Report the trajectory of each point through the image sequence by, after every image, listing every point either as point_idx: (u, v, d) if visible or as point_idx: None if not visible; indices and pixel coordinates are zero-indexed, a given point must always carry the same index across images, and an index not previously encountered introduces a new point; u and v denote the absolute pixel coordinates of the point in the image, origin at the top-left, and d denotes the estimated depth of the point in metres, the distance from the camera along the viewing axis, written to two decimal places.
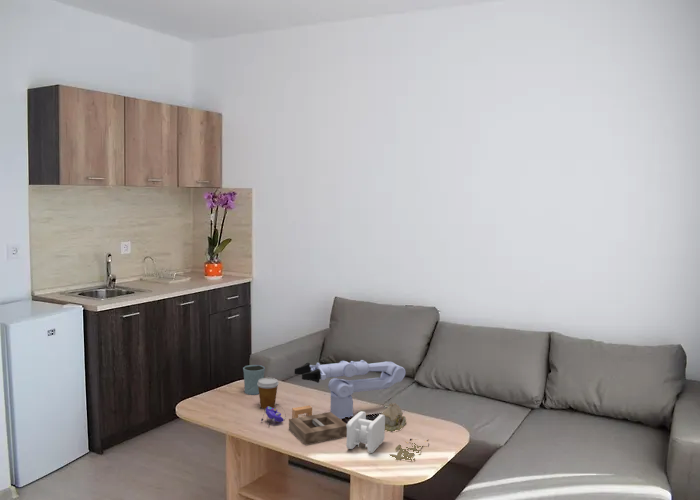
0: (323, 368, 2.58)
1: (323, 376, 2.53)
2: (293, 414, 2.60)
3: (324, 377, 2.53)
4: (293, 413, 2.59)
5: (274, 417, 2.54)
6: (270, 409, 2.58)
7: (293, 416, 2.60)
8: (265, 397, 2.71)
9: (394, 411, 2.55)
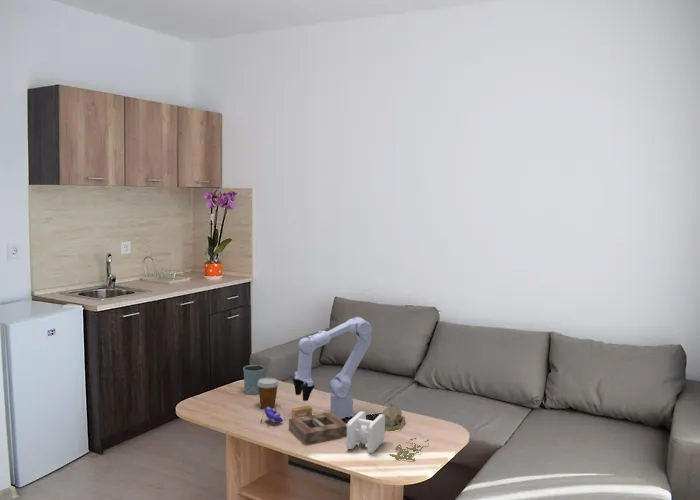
0: (301, 375, 2.57)
1: (309, 384, 2.53)
2: (293, 414, 2.60)
3: (311, 383, 2.53)
4: (293, 413, 2.59)
5: (273, 417, 2.53)
6: (269, 409, 2.57)
7: (293, 416, 2.60)
8: (265, 397, 2.71)
9: (393, 411, 2.55)
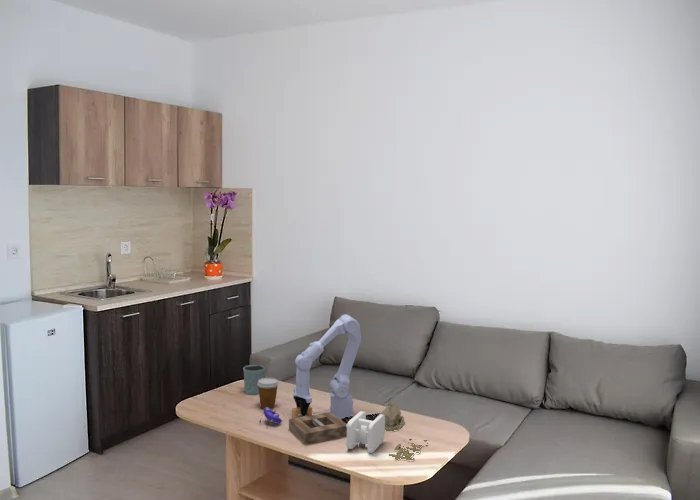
0: (300, 392, 2.58)
1: (308, 401, 2.54)
2: (293, 414, 2.60)
3: (309, 399, 2.54)
4: (293, 413, 2.59)
5: (272, 418, 2.53)
6: (268, 410, 2.56)
7: (293, 416, 2.60)
8: (265, 397, 2.71)
9: (393, 411, 2.55)
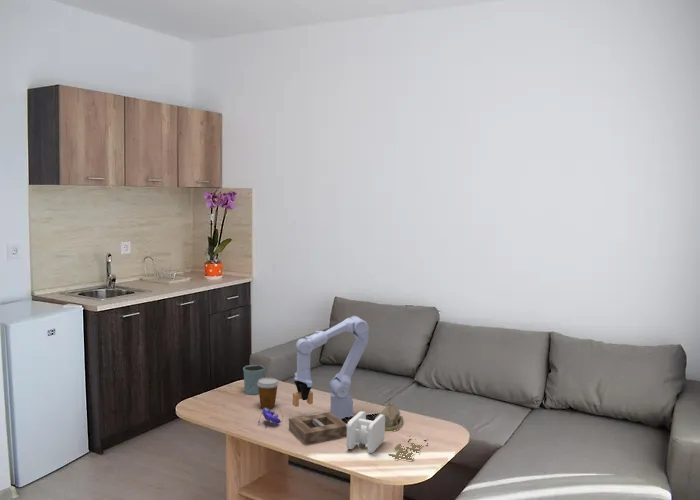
0: (301, 376, 2.56)
1: (309, 385, 2.53)
2: (294, 399, 2.58)
3: (310, 383, 2.53)
4: (294, 398, 2.58)
5: (271, 419, 2.52)
6: (267, 411, 2.56)
7: (294, 401, 2.58)
8: (265, 397, 2.71)
9: (392, 411, 2.55)
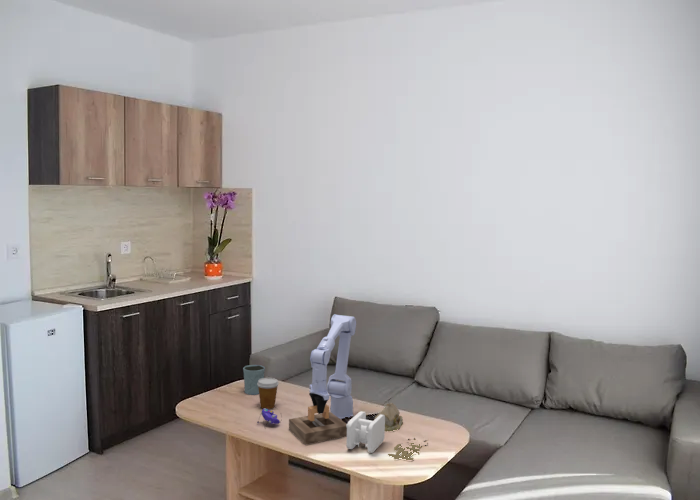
0: (316, 388, 2.43)
1: (326, 398, 2.39)
2: (309, 413, 2.45)
3: (327, 396, 2.40)
4: (309, 412, 2.45)
5: (270, 419, 2.52)
6: (266, 411, 2.55)
7: (309, 415, 2.45)
8: (265, 397, 2.71)
9: (392, 411, 2.55)
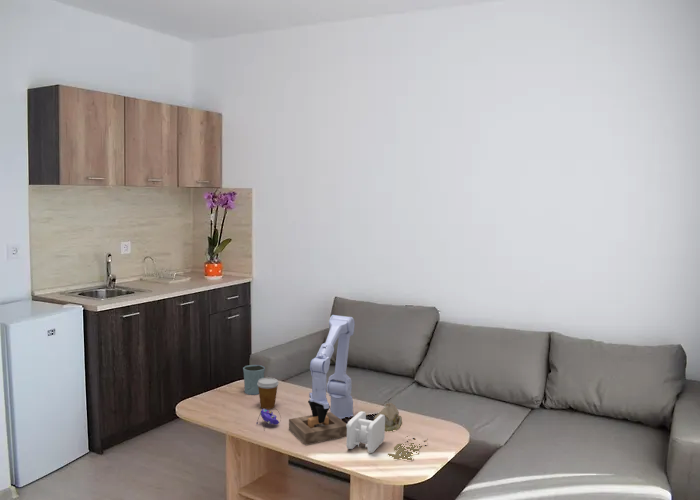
0: (316, 397, 2.43)
1: (326, 406, 2.40)
2: (309, 424, 2.45)
3: (327, 405, 2.40)
4: (309, 423, 2.45)
5: (269, 420, 2.51)
6: (265, 411, 2.55)
7: (309, 426, 2.45)
8: (265, 397, 2.71)
9: (391, 411, 2.55)
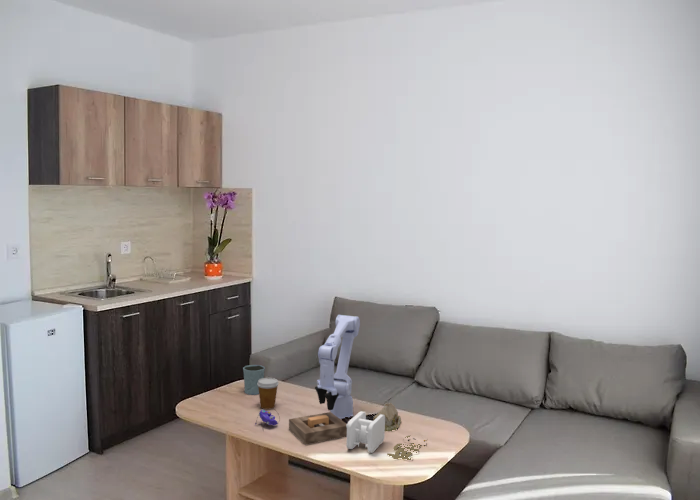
0: (324, 383, 2.48)
1: (334, 393, 2.44)
2: (309, 424, 2.45)
3: (335, 391, 2.44)
4: (309, 423, 2.45)
5: (268, 420, 2.50)
6: (264, 412, 2.54)
7: (309, 426, 2.45)
8: (265, 397, 2.71)
9: (390, 411, 2.55)
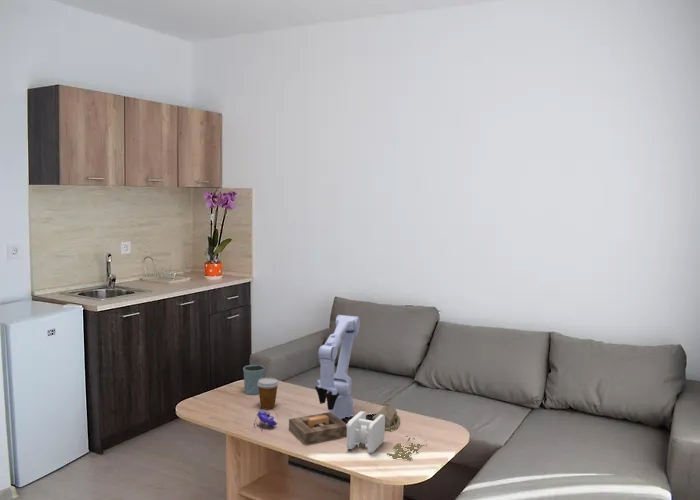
0: (324, 383, 2.48)
1: (334, 392, 2.44)
2: (309, 424, 2.45)
3: (335, 391, 2.45)
4: (309, 423, 2.45)
5: (267, 421, 2.50)
6: (263, 413, 2.53)
7: (309, 426, 2.45)
8: (265, 397, 2.71)
9: (390, 411, 2.55)
